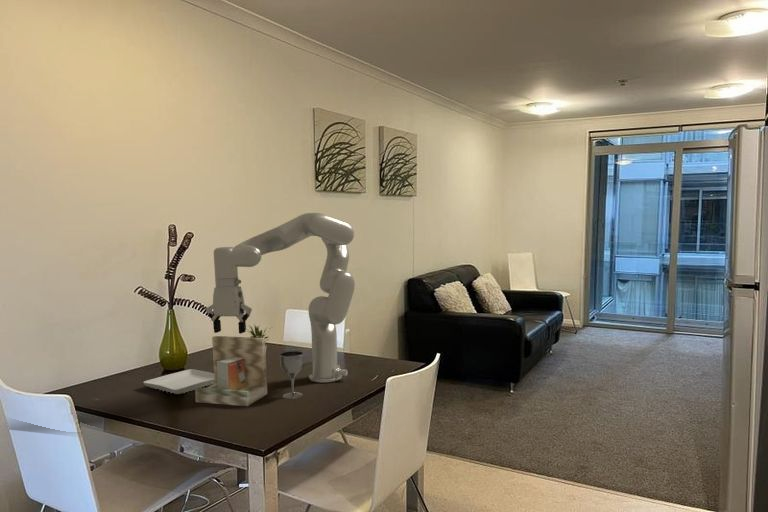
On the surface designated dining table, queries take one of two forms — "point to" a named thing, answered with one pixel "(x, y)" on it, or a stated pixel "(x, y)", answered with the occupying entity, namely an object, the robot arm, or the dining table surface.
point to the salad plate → (181, 381)
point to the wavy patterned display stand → (254, 371)
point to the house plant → (257, 334)
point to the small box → (231, 373)
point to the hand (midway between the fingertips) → (229, 332)
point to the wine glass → (291, 369)
